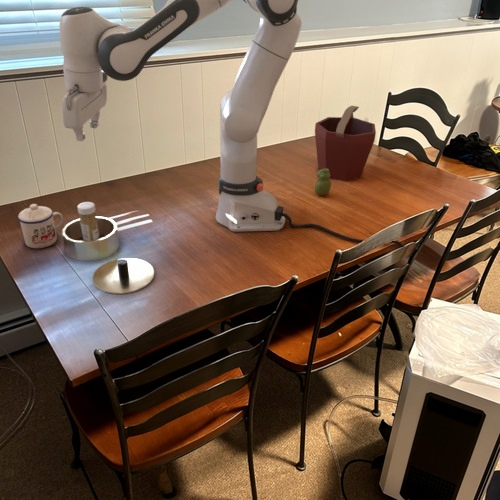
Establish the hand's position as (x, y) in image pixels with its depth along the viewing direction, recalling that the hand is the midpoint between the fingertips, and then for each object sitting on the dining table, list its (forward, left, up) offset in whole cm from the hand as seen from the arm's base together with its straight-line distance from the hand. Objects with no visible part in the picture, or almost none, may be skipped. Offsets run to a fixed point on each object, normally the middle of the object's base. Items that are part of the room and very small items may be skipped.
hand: (88, 133), depth 128 cm
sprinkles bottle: (+1, +7, -31) cm, 32 cm away
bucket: (-75, -60, -32) cm, 101 cm away
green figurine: (-66, -38, -32) cm, 83 cm away
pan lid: (-12, +20, -31) cm, 39 cm away
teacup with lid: (+16, +4, -32) cm, 35 cm away
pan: (+1, +7, -31) cm, 32 cm away
